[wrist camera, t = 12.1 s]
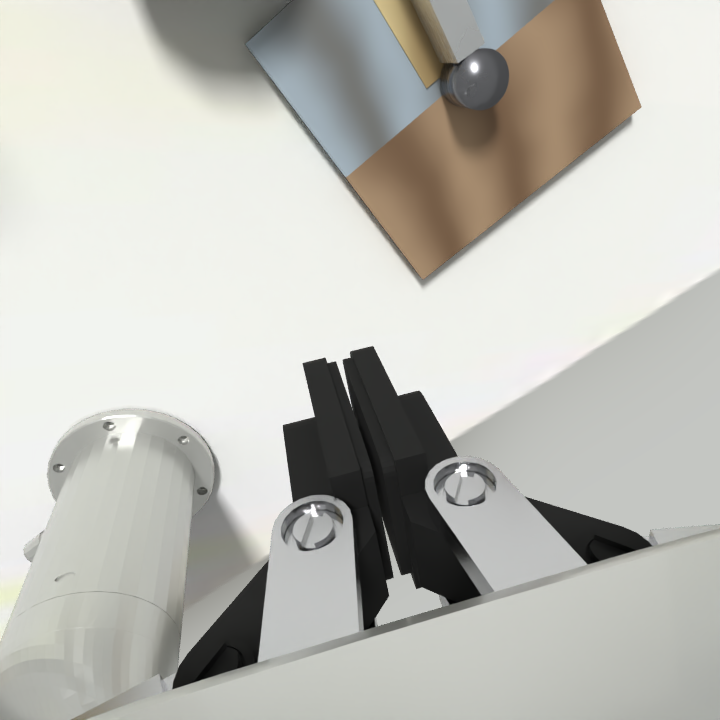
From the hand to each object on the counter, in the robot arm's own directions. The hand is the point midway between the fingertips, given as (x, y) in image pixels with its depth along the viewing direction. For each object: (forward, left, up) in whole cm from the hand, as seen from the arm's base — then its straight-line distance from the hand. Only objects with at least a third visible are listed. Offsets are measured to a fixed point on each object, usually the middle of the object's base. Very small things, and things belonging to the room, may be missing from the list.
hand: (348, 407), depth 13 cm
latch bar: (+14, +1, -26) cm, 29 cm away
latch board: (+14, -2, -27) cm, 30 cm away
